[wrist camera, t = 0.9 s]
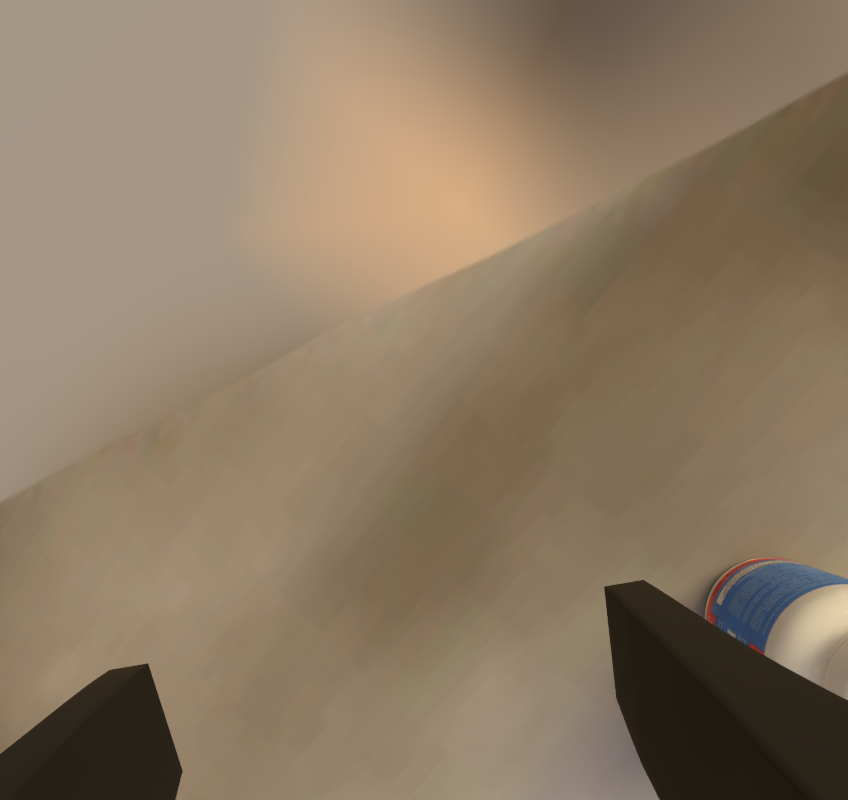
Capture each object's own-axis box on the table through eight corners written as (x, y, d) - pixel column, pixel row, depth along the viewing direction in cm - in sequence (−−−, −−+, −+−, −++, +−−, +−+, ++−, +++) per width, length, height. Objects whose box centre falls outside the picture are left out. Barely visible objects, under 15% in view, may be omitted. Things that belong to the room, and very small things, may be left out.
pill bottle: (673, 613, 26) (768, 693, 17) (768, 528, 26) (918, 560, 17) (770, 718, 26) (930, 867, 16) (869, 631, 25) (1090, 727, 16)
